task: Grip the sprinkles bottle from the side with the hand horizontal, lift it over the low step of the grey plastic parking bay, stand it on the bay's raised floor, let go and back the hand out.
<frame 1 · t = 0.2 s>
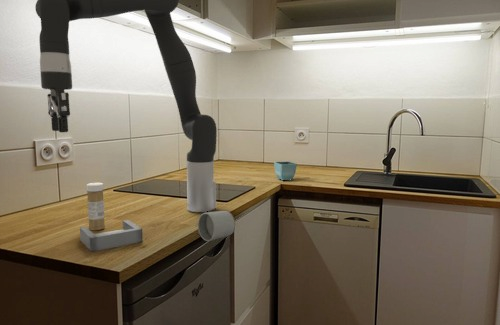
hand: (59, 131, 107), 28 cm above the countertop, tool pointing down, fingers open, 8 cm apart
sprinkles bottle: (96, 229, 113), on the countertop
ceramic mug: (213, 237, 108), on the countertop
flower pot: (284, 180, 196), on the countertop
bay: (111, 240, 103), on the countertop
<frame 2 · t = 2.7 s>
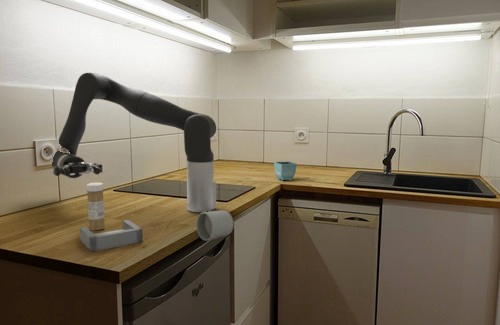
hand: (83, 172, 120), 15 cm above the countertop, tool horizontal, fingers open, 8 cm apart
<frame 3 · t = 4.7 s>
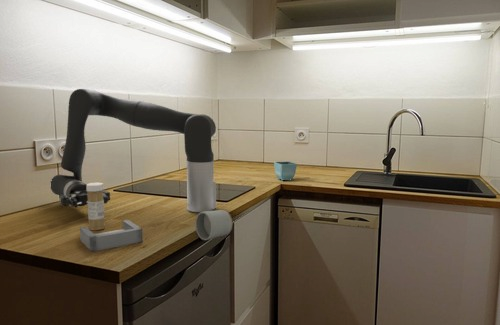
hand: (91, 202, 116), 7 cm above the countertop, tool horizontal, fingers open, 8 cm apart
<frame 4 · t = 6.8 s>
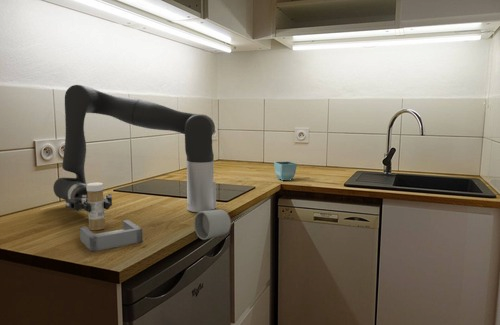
hand: (98, 207, 110), 7 cm above the countertop, tool horizontal, fingers closed on sprinkles bottle, 4 cm apart
sprinkles bottle: (96, 229, 113), on the countertop, touching gripper
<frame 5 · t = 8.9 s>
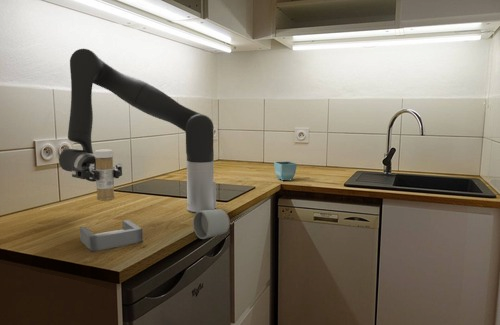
hand: (107, 175, 101), 18 cm above the countertop, tool horizontal, fingers closed on sprinkles bottle, 4 cm apart
sprinkles bottle: (105, 200, 104), point 10 cm above the countertop, touching gripper
when the fingers open (9 cm above the countertop, at t = 11.1 s): sprinkles bottle drops 1 cm, resting on bay.
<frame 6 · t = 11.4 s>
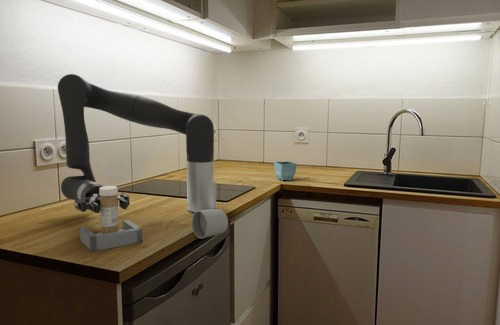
hand: (112, 207, 101), 9 cm above the countertop, tool horizontal, fingers open, 6 cm apart
sprinkles bottle: (110, 237, 104), point 1 cm above the countertop, touching bay
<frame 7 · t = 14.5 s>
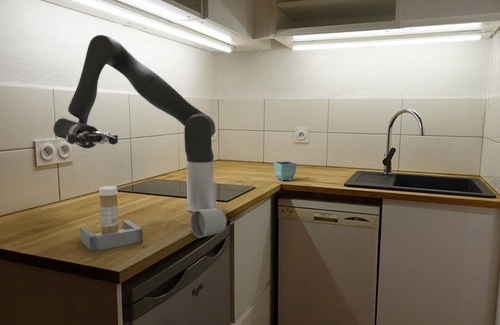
hand: (100, 141, 114), 25 cm above the countertop, tool horizontal, fingers open, 8 cm apart
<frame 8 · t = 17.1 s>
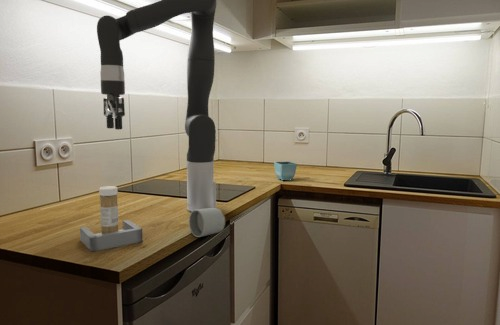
hand: (114, 128, 131), 28 cm above the countertop, tool pointing down, fingers open, 8 cm apart
at the end: sprinkles bottle inside the target area on the bay (0.1 cm from its centre), point 0.8 cm above the bay's base; sprinkles bottle tilted 0°; the gripper is holding nothing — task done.
